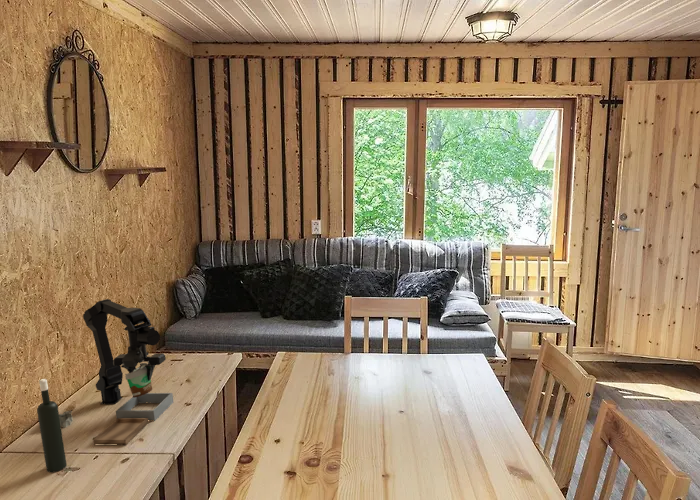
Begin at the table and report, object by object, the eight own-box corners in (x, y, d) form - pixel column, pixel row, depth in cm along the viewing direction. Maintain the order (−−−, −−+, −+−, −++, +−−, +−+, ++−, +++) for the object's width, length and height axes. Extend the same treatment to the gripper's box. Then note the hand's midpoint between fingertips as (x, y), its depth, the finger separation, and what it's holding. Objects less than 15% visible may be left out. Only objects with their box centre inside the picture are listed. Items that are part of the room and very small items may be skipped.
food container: (146, 397, 211) (139, 371, 209) (131, 399, 212) (124, 374, 210) (161, 384, 223) (154, 360, 221) (146, 386, 224) (140, 363, 222)
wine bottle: (45, 474, 177) (31, 384, 172) (47, 465, 182) (33, 378, 177) (66, 469, 179) (52, 380, 174) (67, 461, 184) (53, 374, 179)
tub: (117, 421, 212) (115, 411, 211) (138, 402, 228) (136, 393, 227) (154, 420, 210) (153, 410, 209) (173, 402, 226) (172, 392, 225)
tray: (93, 445, 194) (93, 439, 194) (118, 423, 210) (117, 418, 209) (126, 445, 192) (125, 439, 192) (148, 423, 208) (147, 418, 208)
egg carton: (74, 419, 216) (73, 409, 216) (69, 428, 209) (68, 418, 208) (44, 423, 214) (43, 413, 213) (38, 432, 207) (36, 422, 206)
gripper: (102, 349, 208) (108, 389, 210) (150, 348, 205) (155, 388, 208) (118, 339, 218) (123, 377, 221) (163, 338, 216) (168, 377, 218)
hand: (142, 380), depth 217 cm, fingers closed on food container, 6 cm apart
